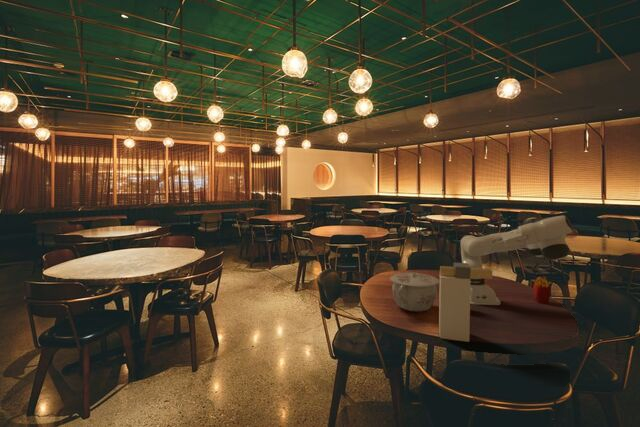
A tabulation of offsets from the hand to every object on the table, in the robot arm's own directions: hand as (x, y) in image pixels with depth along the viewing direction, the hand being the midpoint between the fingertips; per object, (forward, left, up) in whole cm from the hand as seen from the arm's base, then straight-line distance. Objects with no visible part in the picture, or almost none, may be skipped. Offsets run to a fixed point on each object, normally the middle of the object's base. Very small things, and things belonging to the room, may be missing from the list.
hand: (492, 243), depth 140 cm
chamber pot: (+35, -24, -42) cm, 60 cm away
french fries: (-37, -56, -42) cm, 79 cm away
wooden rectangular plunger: (+12, +7, -14) cm, 20 cm away
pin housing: (+16, +7, -42) cm, 46 cm away
